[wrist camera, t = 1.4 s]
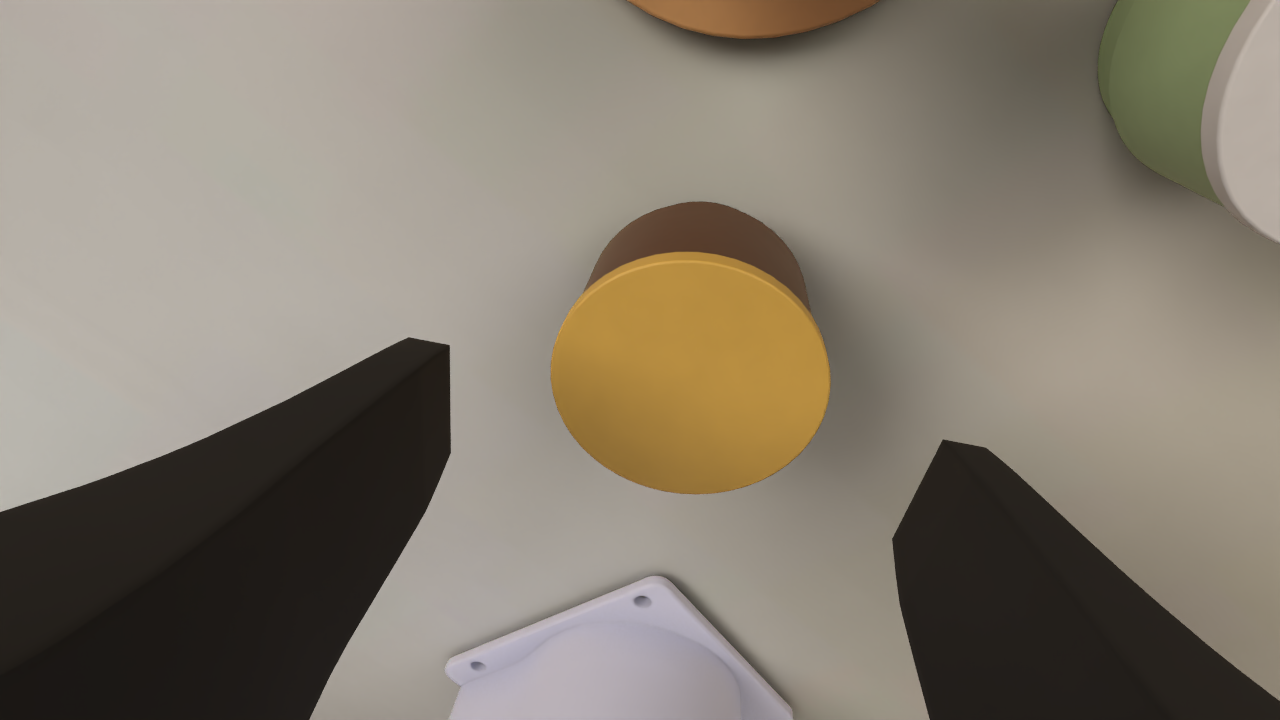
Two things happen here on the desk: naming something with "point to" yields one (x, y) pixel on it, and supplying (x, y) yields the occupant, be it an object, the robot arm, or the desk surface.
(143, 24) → the desk surface
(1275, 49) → the cylinder
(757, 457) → the brown pod
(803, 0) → the coaster
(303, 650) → the robot arm
